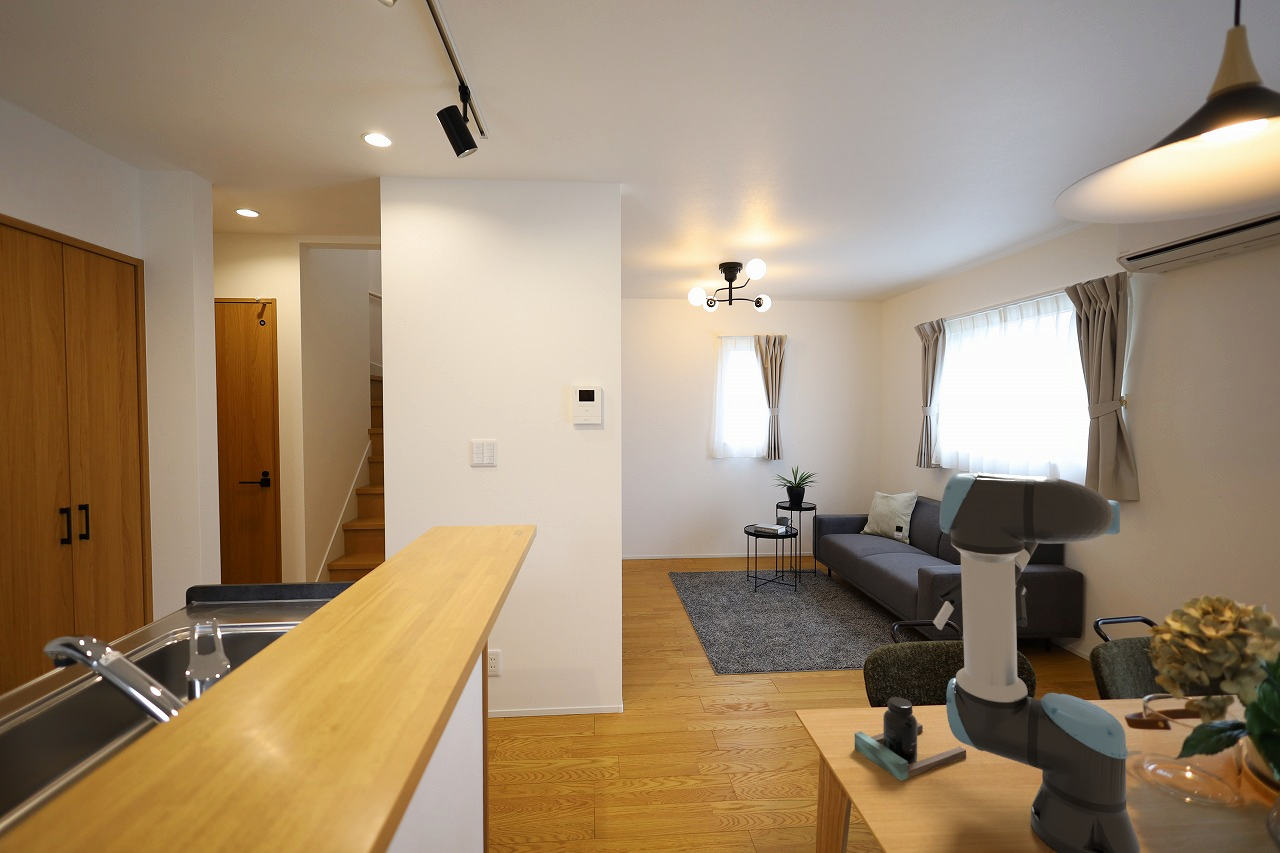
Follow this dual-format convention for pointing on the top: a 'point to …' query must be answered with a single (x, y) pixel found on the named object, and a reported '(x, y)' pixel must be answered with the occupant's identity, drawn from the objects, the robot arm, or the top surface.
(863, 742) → the channel
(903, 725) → the supplement bottle
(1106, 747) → the robot arm
